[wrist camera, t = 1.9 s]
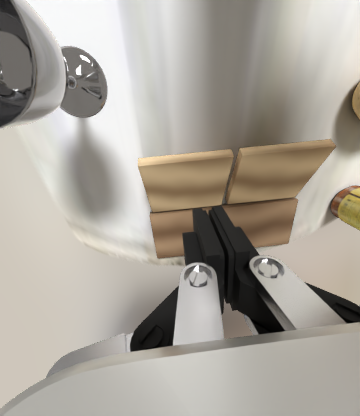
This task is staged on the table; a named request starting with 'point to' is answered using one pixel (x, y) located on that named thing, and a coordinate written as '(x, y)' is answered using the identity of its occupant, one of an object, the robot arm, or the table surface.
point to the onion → (356, 101)
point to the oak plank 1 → (186, 179)
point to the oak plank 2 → (275, 170)
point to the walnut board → (239, 215)
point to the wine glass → (42, 71)
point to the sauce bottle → (348, 206)
